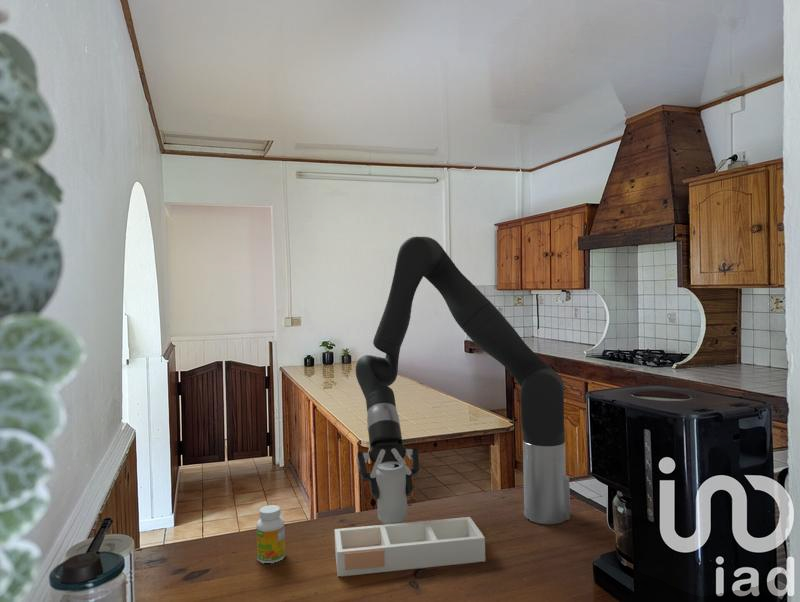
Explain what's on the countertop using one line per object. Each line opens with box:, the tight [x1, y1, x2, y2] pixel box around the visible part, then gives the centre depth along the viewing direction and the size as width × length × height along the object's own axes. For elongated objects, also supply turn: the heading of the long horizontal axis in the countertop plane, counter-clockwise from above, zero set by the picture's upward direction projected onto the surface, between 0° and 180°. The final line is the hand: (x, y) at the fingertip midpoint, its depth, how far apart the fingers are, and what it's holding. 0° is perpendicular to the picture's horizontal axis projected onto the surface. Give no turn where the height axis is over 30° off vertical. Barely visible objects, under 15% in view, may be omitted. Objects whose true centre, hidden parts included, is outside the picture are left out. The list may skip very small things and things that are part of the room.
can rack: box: [334, 516, 486, 577], centre depth 108 cm, size 28×10×4 cm, turn 99°
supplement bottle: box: [255, 504, 286, 564], centre depth 109 cm, size 5×5×10 cm
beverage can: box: [376, 462, 408, 525], centre depth 120 cm, size 6×6×12 cm
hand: (393, 495), depth 119 cm, fingers closed on beverage can, 6 cm apart
